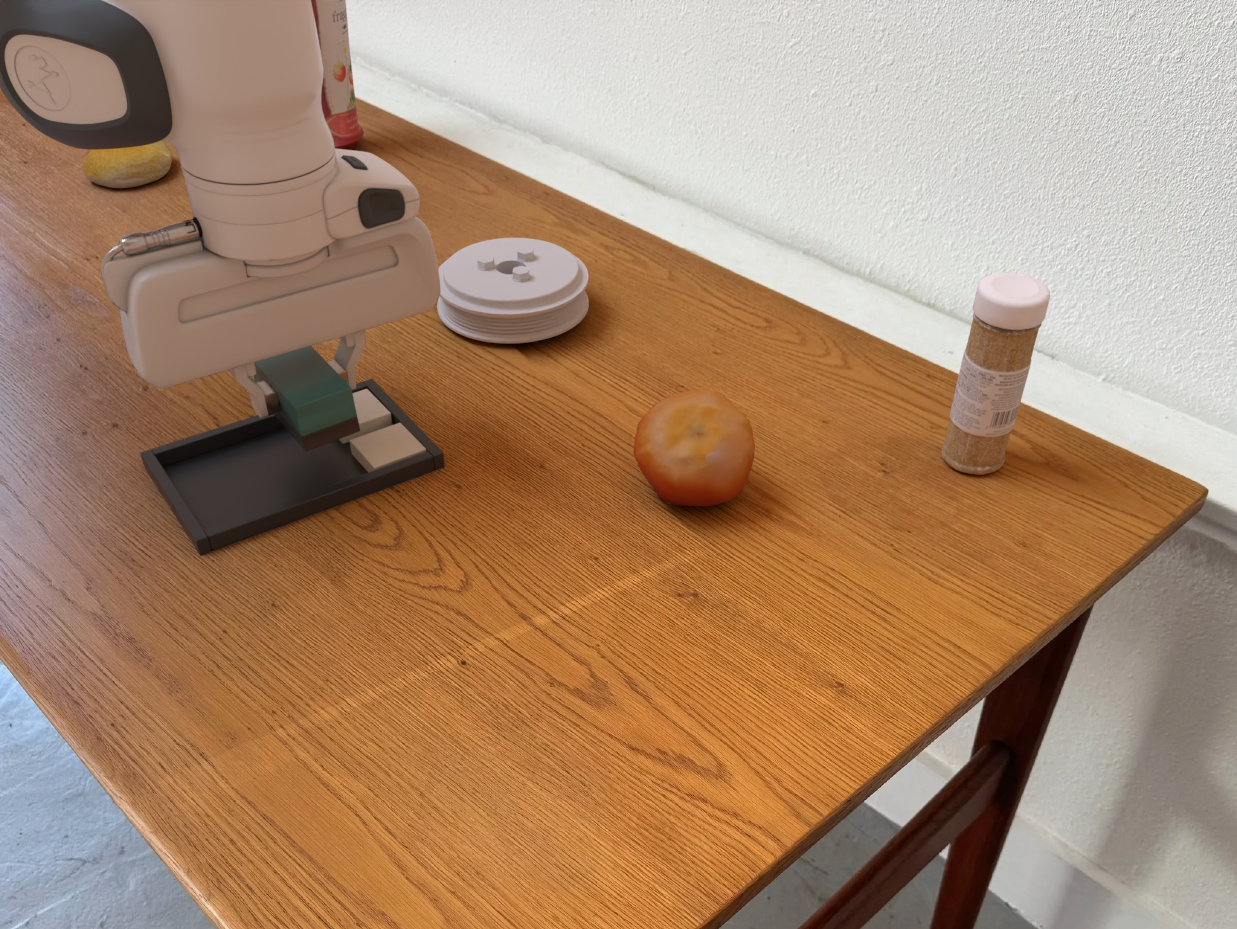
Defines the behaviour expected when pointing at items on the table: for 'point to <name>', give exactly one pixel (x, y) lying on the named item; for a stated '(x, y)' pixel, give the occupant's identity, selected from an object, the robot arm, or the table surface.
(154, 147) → the bread roll
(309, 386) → the eraser
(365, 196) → the robot arm
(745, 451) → the fruit
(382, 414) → the chip
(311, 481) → the tray
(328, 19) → the red and white bottle
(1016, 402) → the sprinkles bottle
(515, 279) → the lid
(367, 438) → the chip
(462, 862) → the table surface
